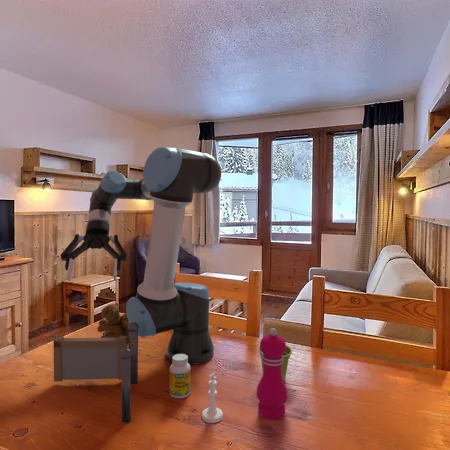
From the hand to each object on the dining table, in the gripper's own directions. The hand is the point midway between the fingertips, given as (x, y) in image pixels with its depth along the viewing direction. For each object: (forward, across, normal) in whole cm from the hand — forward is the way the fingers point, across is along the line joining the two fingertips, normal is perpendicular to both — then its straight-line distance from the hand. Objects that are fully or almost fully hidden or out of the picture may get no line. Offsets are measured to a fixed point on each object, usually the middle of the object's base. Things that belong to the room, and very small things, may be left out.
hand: (92, 278), depth 106 cm
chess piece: (+44, -31, +12) cm, 55 cm away
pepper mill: (+45, -45, +13) cm, 65 cm away
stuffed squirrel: (+10, -8, -26) cm, 29 cm away
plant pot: (+35, -52, +3) cm, 63 cm away
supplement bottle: (+36, -25, +4) cm, 44 cm away
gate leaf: (+29, -2, -3) cm, 29 cm away
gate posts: (+37, -13, +3) cm, 39 cm away
